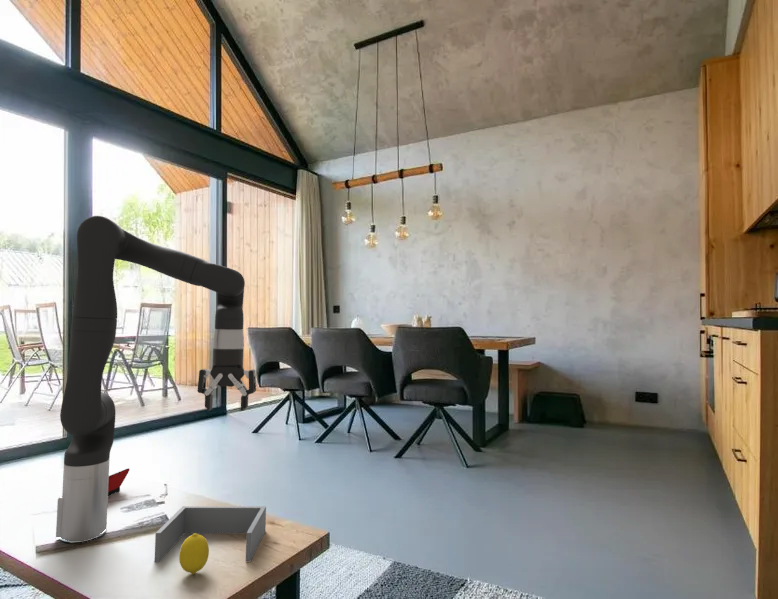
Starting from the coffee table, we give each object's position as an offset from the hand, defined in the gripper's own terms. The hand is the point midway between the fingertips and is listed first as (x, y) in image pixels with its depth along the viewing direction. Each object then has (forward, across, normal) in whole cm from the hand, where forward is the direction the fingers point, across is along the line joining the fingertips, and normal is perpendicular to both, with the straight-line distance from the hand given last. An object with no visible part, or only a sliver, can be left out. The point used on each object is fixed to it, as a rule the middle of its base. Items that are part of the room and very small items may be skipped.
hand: (226, 410), depth 125 cm
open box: (+28, +2, -14) cm, 31 cm away
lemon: (+28, +2, -26) cm, 38 cm away
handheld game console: (+29, -40, +17) cm, 52 cm away
